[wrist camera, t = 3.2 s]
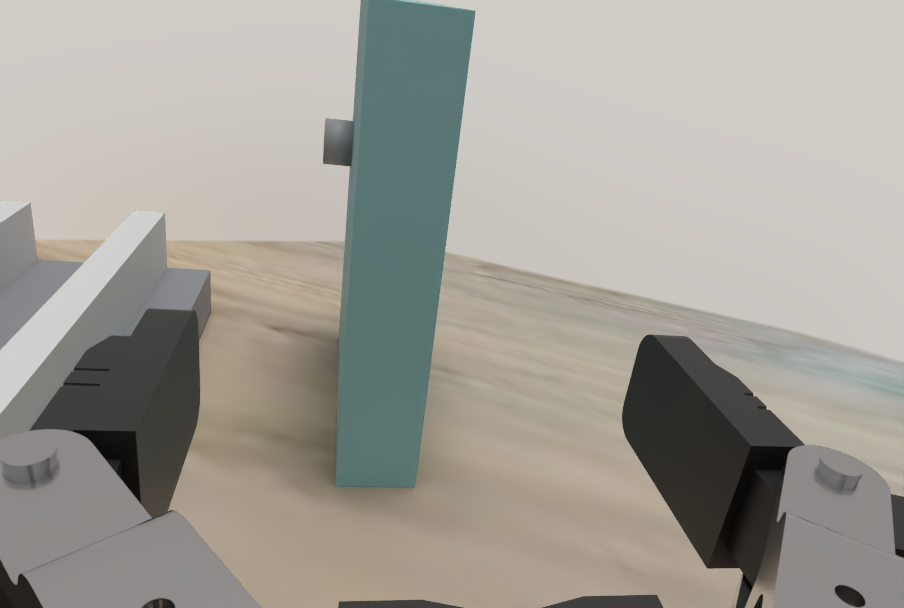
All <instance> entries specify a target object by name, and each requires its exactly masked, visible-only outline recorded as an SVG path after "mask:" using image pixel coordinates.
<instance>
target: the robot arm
mask: <svg viewBox="0 0 904 608" xmlns="http://www.w3.org/2000/svg"><path fill="white" fill-rule="evenodd" d="M199 405H200V370H199V333H198V318H197V313H196V311H194V310H174V309H155V308H148V309H147V310H146V311H145V313H144V315H143V316H142V318H141V320H140V321H139V323H138V324H137V326H136V328H135V329H134V331H133V332H132V334H131V336H115V335H111V336H109V337H108V338H106V339H104V340H103V341H101V342H99V343H98V344H96V345H94V346H93V347H91V348H89V349H87V350H86V352H85V353H84V354H83V356H82V357H81V359H80V360H79V361H78V363H77V364H76V366H75V367H74V371H71V373H70V374H69V375H68V377H67V378H66V380H65V381H64V382H63V387H60V388H59V389H58V391H57V392H56V394H55V395H54V396H53V398H52V399H51V401H50V402H49V403H48V405H47V406H46V408H45V409H44V410H43V412H42V413H41V415H40V416H39V417H38V419H37V420H36V422H35V423H34V424H33V426H32V427H31V429H30V430H29V431H27V432H22V433H18V434H14V435H10V436H8V437H5V438H2V439H0V608H261V607H260V606H259V605H258V604H257V602H256V601H255V600H254V599H253V598H252V596H251V595H250V594H249V593H248V592H247V591H246V589H245V588H244V587H243V586H242V585H241V584H240V582H239V581H238V580H237V579H236V578H235V576H234V575H233V574H232V573H231V572H230V571H229V569H228V568H227V567H226V566H225V565H224V563H223V562H222V561H221V560H220V559H219V558H218V556H217V555H216V554H215V553H214V552H213V551H212V549H211V548H210V547H209V546H208V545H207V543H206V542H205V541H204V540H203V539H202V538H201V536H200V535H199V534H198V533H197V532H196V531H195V529H194V528H193V527H192V526H191V525H190V523H189V522H188V521H187V520H186V519H185V518H184V517H183V516H182V515H181V514H180V513H178V512H176V511H173V510H171V511H168V508H169V505H170V502H171V499H172V497H173V494H174V491H175V488H176V485H177V482H178V479H179V476H180V473H181V470H182V467H183V464H184V461H185V458H186V455H187V452H188V449H189V446H190V444H191V441H192V438H193V435H194V432H195V429H196V425H197V420H198V414H199ZM622 422H623V429H624V433H625V436H626V438H627V440H628V442H629V444H630V445H631V447H632V448H633V450H634V452H635V453H636V455H637V456H638V458H639V460H640V461H641V463H642V464H643V466H644V468H645V469H646V471H647V472H648V474H649V476H650V477H651V479H652V481H653V482H654V484H655V485H656V487H657V489H658V490H659V492H660V493H661V495H662V497H663V498H664V500H665V501H666V503H667V505H668V506H669V508H670V509H671V511H672V513H673V514H674V516H675V517H676V519H677V521H678V522H679V524H680V525H681V527H682V529H683V530H684V532H685V534H686V535H687V537H688V538H689V540H690V542H691V543H692V545H693V546H694V548H695V550H696V551H697V553H698V554H699V556H700V558H701V559H702V561H703V562H704V564H705V566H706V567H707V568H740V569H741V571H742V572H743V573H742V575H741V578H740V580H739V583H738V585H737V588H736V591H735V595H734V599H733V604H732V608H904V497H902V496H897V495H893V494H891V492H890V488H889V486H888V484H887V483H886V481H885V480H884V479H883V478H882V477H881V476H880V475H879V474H878V473H877V472H876V471H875V470H873V469H872V468H871V467H869V466H868V465H866V464H865V463H863V462H861V461H860V460H858V459H856V458H854V457H852V456H850V455H847V454H845V453H842V452H840V451H837V450H833V449H830V448H826V447H821V446H813V445H805V444H804V443H803V442H802V441H801V440H800V439H799V438H798V437H796V436H795V435H794V434H793V433H792V432H791V431H790V430H789V429H788V428H787V427H786V426H785V425H784V424H783V423H782V422H781V421H780V420H779V419H778V418H777V417H776V416H775V415H774V414H773V413H772V412H771V411H770V410H766V406H765V405H764V404H763V403H762V402H761V401H760V400H759V399H758V398H757V397H754V396H753V393H752V392H751V391H750V390H749V389H748V388H747V387H746V386H745V385H744V384H743V383H742V382H741V381H740V380H739V379H738V378H737V377H736V376H734V375H732V374H731V373H729V372H727V371H726V370H724V369H722V368H721V367H719V366H717V365H716V364H714V363H713V362H712V361H711V360H710V358H709V357H708V356H707V355H706V354H705V353H704V352H703V351H702V350H701V349H700V348H699V347H698V346H697V345H696V344H695V343H694V342H693V341H692V340H691V339H690V338H688V337H685V336H666V335H647V336H645V337H644V338H643V339H642V341H641V343H640V345H639V348H638V352H637V356H636V360H635V364H634V367H633V371H632V375H631V379H630V383H629V386H628V390H627V394H626V398H625V402H624V406H623V413H622ZM167 511H168V512H167ZM338 608H462V607H457V606H452V605H446V604H441V603H436V602H431V601H425V600H393V601H346V602H339V607H338ZM543 608H663V606H662V604H661V602H660V600H659V598H658V596H657V595H629V596H583V597H580V598H576V599H572V600H569V601H565V602H561V603H557V604H554V605H550V606H546V607H543Z"/></svg>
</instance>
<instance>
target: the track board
mask: <svg viewBox="0 0 904 608" xmlns="http://www.w3.org/2000/svg"><path fill="white" fill-rule="evenodd" d="M148 308H155V309H174V310H194V311H196V313H197V318H198V333H199V338H200V336H201V334H202V331H203V329H204V327H205V324H206V322H207V320H208V317H209V315H210V313H211V290H210V271H208V270H192V269H177V268H167V254H166V232H165V213H159V212H147V211H134V212H133V213H132V214H131V215H130V216H129V217H128V218H127V219H126V220H125V221H124V222H123V223H122V224H121V225H120V226H119V227H118V228H117V229H116V230H115V231H114V232H113V233H112V234H111V235H110V237H109V238H108V239H107V240H106V241H105V242H104V243H103V244H102V245H101V246H100V247H99V248H98V249H97V250H96V251H95V252H94V253H93V254H92V255H91V256H90V257H89V258H88V259H87V260H86V261H85V262H84V263H81V262H65V261H49V260H37V252H36V244H35V236H34V228H33V219H32V212H31V203H28V202H14V201H3V200H0V439H2V438H5V437H8V436H10V435H14V434H18V433H22V432H27V431H29V430H30V429H31V427H32V426H33V424H34V423H35V422H36V420H37V419H38V417H39V416H40V415H41V413H42V412H43V410H44V409H45V408H46V406H47V405H48V403H49V402H50V401H51V399H52V398H53V396H54V395H55V394H56V392H57V391H58V389H59V388H60V387H63V382H64V381H65V380H66V378H67V377H68V375H69V374H70V373H71V371H74V367H75V366H76V364H77V363H78V361H79V360H80V359H81V357H82V356H83V354H84V353H85V352H86V350H87V349H89V348H91V347H93V346H94V345H96V344H98V343H99V342H101V341H103V340H104V339H106V338H108V337H109V336H111V335H115V336H131V334H132V332H133V331H134V329H135V328H136V326H137V324H138V323H139V321H140V320H141V318H142V316H143V315H144V313H145V311H146V310H147V309H148Z"/></svg>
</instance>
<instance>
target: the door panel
mask: <svg viewBox="0 0 904 608" xmlns="http://www.w3.org/2000/svg"><path fill="white" fill-rule="evenodd" d="M474 18H475V11H472V10H467V9H461V8H455V7H450V6H444V5H439V4H433V3H426V2H419V1H412V0H361V8H360V22H359V37H358V38H359V39H358V53H357V68H356V83H355V98H354V115H353V121H347V120H346V121H345V120H337V119H326V121H325V134H324V156H323V164H332V165H343V166H350V175H349V190H348V205H347V206H348V207H347V222H346V236H345V237H346V238H345V251H344V267H343V282H342V297H341V312H340V328H339V350H338V388H337V427H336V466H335V487H415V482H416V474H417V467H418V459H419V451H420V443H421V435H422V427H423V419H424V411H425V404H426V396H427V388H428V380H429V372H430V364H431V356H432V349H433V341H434V333H435V325H436V317H437V309H438V301H439V294H440V286H441V278H442V270H443V262H444V254H445V246H446V239H447V231H448V223H449V214H450V207H451V199H452V190H453V183H454V176H455V168H456V160H457V152H458V144H459V136H460V128H461V121H462V113H463V105H464V96H465V89H466V81H467V73H468V64H469V58H470V49H471V42H472V33H473V26H474Z"/></svg>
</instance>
